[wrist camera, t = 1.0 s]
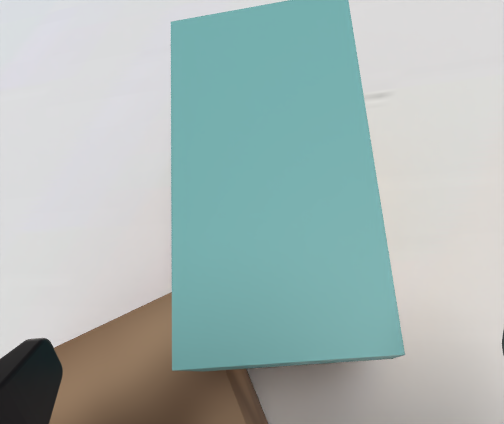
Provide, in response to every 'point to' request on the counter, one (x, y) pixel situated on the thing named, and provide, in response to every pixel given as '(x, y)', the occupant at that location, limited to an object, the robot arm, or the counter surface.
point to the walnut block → (145, 378)
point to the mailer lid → (275, 194)
